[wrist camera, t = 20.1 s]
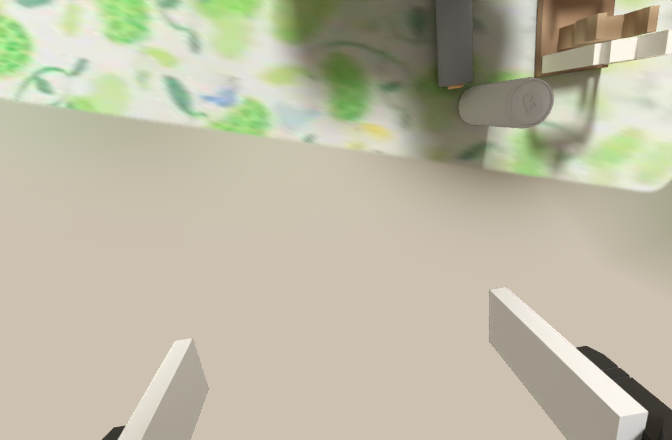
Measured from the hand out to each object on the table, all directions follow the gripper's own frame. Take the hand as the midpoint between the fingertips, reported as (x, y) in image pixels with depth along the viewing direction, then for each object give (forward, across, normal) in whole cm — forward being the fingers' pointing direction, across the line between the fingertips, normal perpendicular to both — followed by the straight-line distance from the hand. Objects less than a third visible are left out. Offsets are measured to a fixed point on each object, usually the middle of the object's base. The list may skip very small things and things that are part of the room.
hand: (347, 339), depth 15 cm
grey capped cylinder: (+32, +20, +16) cm, 41 cm away
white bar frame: (+31, +34, +11) cm, 48 cm away
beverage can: (+33, +21, +8) cm, 40 cm away
